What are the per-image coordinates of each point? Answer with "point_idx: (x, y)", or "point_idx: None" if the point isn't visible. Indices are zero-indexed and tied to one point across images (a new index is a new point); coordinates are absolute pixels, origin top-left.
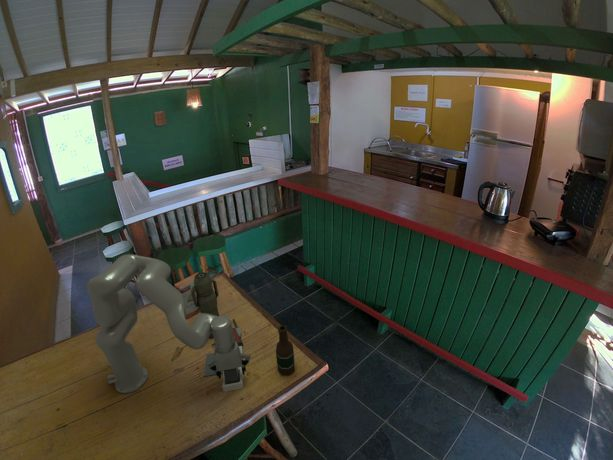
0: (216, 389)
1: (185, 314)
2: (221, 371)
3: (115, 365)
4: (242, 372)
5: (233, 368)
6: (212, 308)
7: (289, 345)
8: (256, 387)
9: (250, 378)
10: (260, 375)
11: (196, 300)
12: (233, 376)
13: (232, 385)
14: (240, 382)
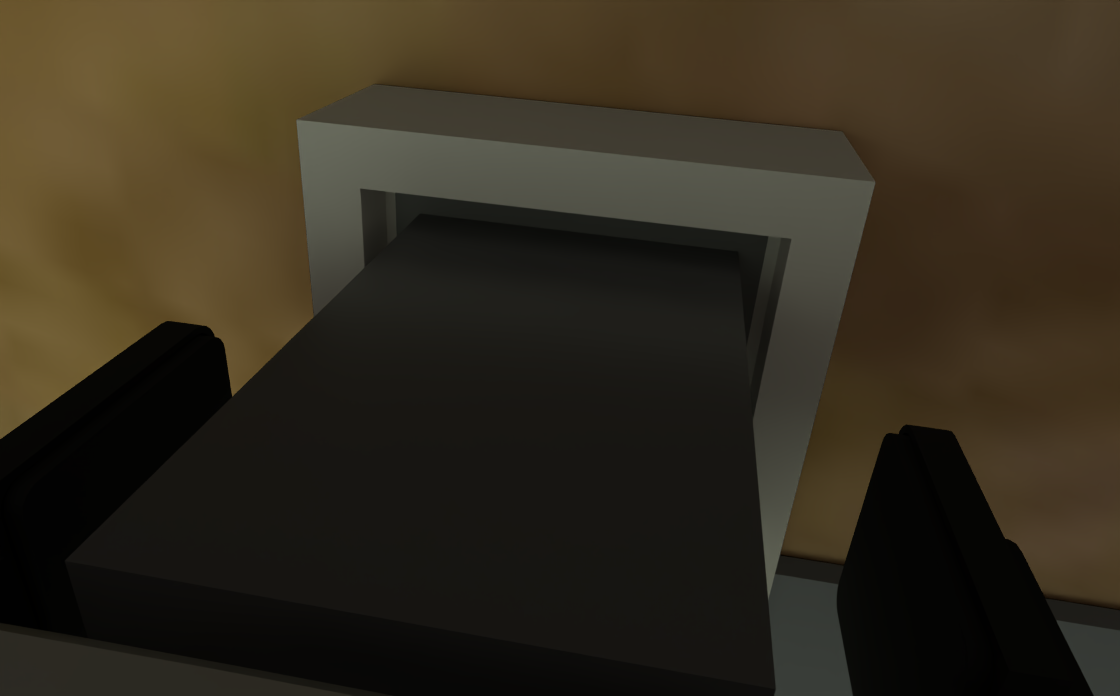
0: (993, 255)
1: None
2: (798, 606)
3: None
4: (152, 379)
5: (76, 663)
6: None
7: None
8: (82, 5)
9: (238, 273)
10: (52, 272)
11: None
12: (444, 340)
13: (573, 145)
14: (347, 163)
